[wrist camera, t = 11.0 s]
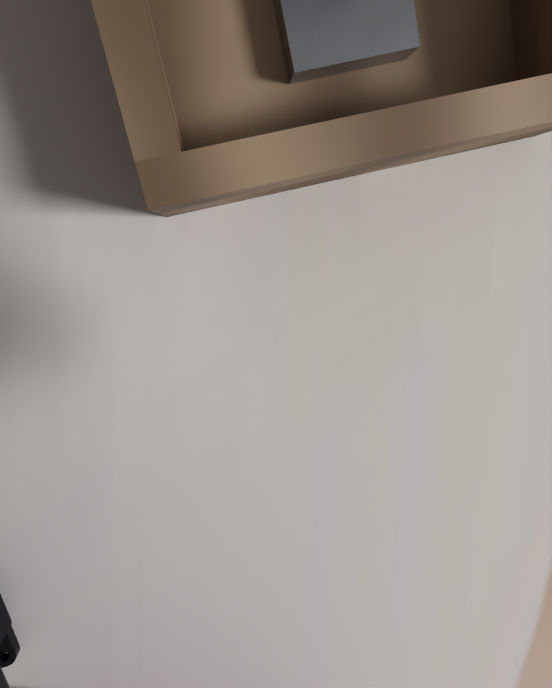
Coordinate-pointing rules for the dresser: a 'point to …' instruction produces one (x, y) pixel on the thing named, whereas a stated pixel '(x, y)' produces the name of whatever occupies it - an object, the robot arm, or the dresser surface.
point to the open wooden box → (313, 96)
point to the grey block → (343, 35)
